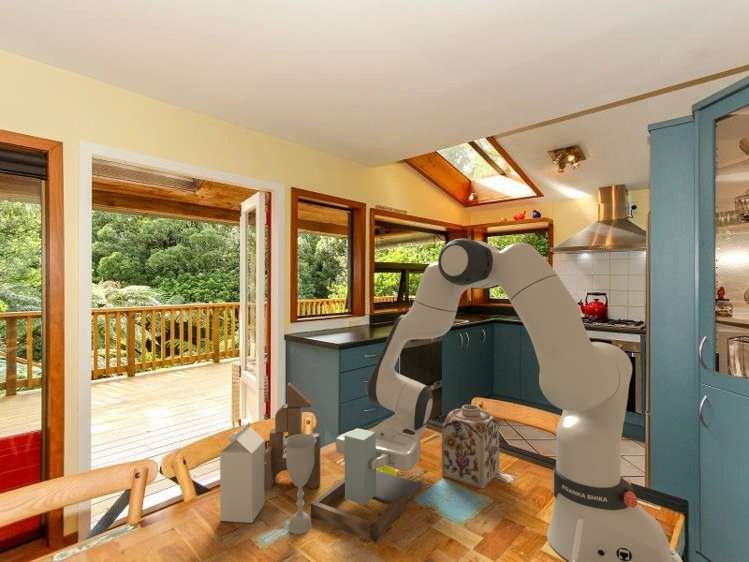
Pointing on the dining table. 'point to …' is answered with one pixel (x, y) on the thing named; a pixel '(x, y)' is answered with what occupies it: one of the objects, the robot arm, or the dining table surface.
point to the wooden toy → (289, 422)
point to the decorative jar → (470, 446)
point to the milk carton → (242, 476)
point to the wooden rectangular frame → (351, 522)
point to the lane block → (359, 466)
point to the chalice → (300, 475)
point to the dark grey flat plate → (393, 487)
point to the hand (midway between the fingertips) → (358, 462)
